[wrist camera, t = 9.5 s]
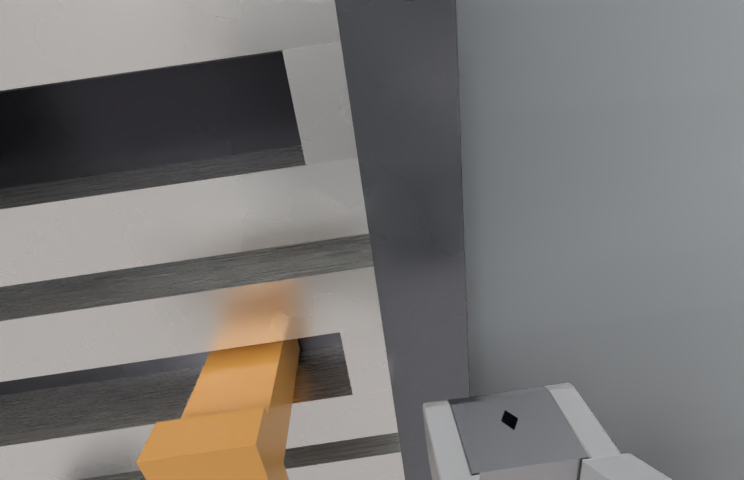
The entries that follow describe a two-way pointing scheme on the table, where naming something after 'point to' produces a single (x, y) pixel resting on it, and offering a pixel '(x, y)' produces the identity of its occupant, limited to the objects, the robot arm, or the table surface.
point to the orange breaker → (230, 419)
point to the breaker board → (228, 224)
